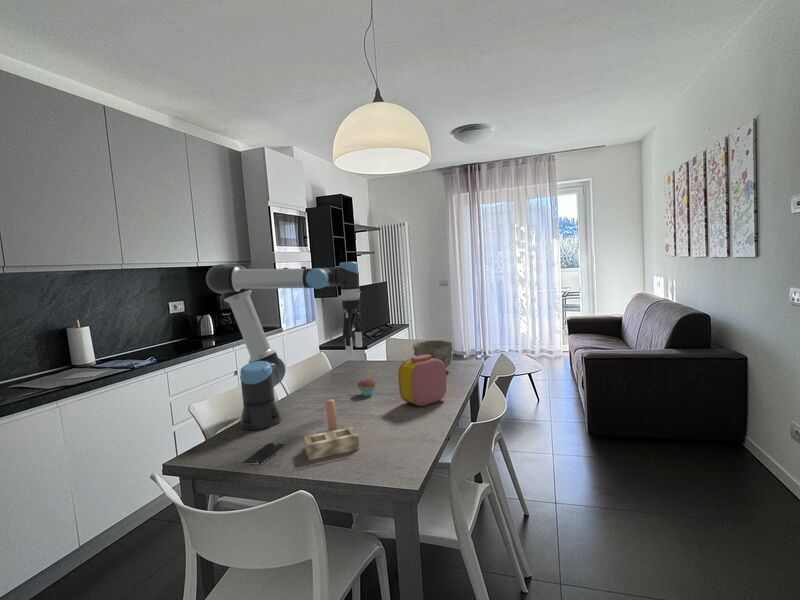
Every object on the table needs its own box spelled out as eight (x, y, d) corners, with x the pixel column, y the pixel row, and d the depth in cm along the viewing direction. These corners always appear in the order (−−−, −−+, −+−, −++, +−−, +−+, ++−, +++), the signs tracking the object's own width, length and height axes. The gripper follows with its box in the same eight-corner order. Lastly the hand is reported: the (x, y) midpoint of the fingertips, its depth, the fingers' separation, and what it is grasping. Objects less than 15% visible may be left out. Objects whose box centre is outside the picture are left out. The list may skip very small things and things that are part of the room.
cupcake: (377, 391, 201) (376, 366, 200) (375, 397, 193) (373, 370, 192) (359, 392, 202) (357, 366, 201) (356, 397, 194) (354, 371, 193)
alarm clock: (432, 394, 191) (429, 351, 190) (449, 399, 182) (446, 354, 181) (398, 404, 180) (395, 358, 179) (415, 410, 171) (411, 362, 170)
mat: (321, 443, 146) (321, 442, 146) (316, 433, 155) (316, 432, 155) (350, 437, 149) (350, 436, 149) (343, 427, 158) (343, 426, 158)
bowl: (434, 364, 246) (433, 338, 245) (463, 369, 230) (461, 342, 228) (405, 372, 233) (403, 345, 231) (433, 379, 216) (431, 349, 215)
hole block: (308, 461, 132) (307, 445, 132) (305, 451, 140) (303, 436, 139) (359, 450, 138) (358, 435, 137) (353, 441, 145) (352, 426, 145)
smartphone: (288, 443, 146) (261, 463, 132) (288, 445, 147) (262, 466, 132) (269, 442, 149) (241, 461, 134) (269, 444, 149) (241, 464, 134)
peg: (329, 436, 150) (326, 402, 149) (328, 433, 153) (325, 400, 152) (338, 434, 151) (335, 401, 150) (336, 431, 154) (333, 398, 153)
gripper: (350, 301, 165) (354, 356, 167) (367, 296, 189) (370, 344, 191) (332, 302, 167) (335, 356, 168) (351, 297, 191) (354, 344, 193)
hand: (354, 350), depth 180 cm, fingers open, 13 cm apart
